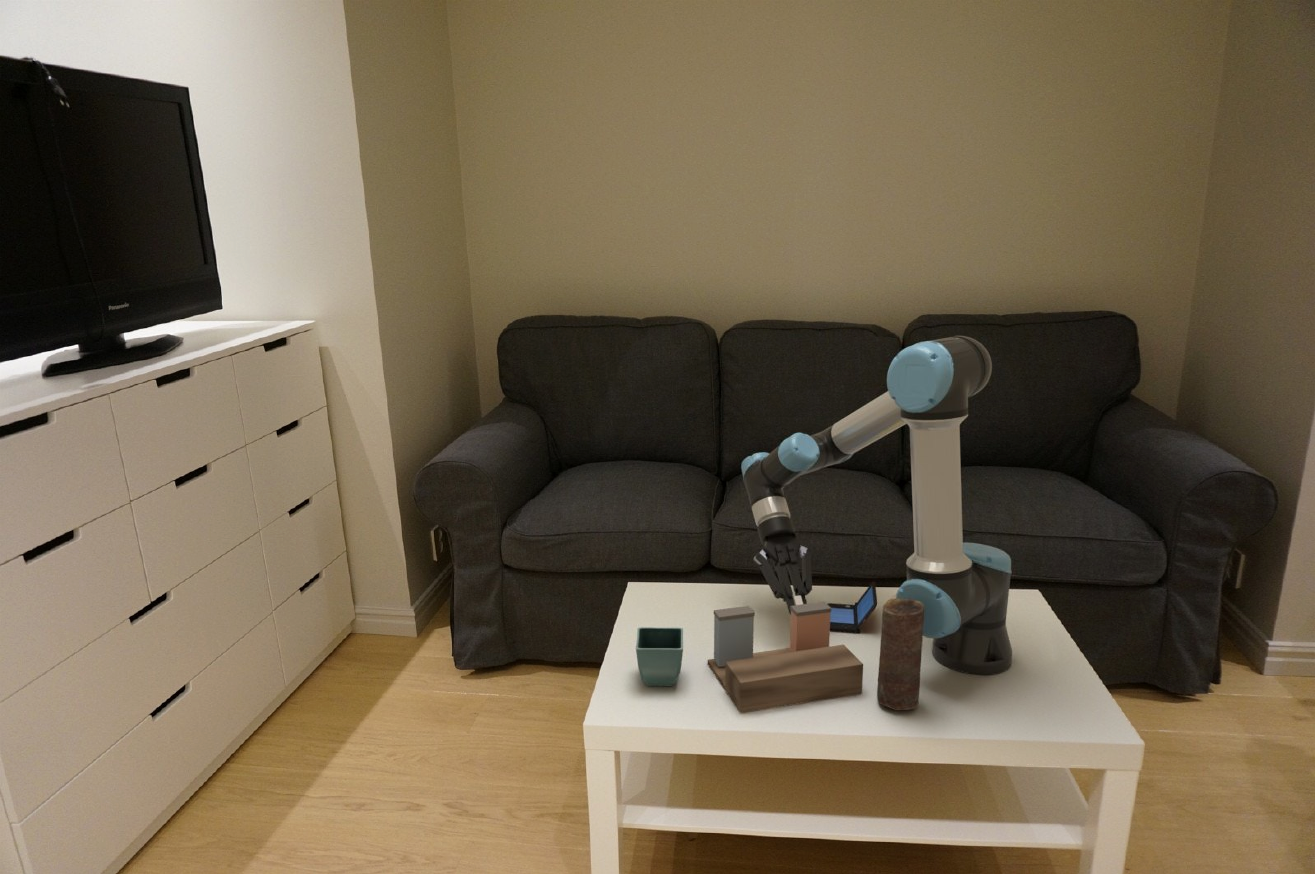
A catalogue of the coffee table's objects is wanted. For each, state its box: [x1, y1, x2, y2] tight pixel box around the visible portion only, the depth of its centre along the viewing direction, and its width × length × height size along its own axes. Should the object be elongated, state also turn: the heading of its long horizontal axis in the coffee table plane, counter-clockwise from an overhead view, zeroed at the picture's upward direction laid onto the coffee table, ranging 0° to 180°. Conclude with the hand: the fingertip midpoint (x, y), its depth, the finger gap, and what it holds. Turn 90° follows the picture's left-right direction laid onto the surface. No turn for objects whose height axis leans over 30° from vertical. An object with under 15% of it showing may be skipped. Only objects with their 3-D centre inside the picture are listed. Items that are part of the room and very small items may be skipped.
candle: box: [876, 597, 925, 711], centre depth 164 cm, size 8×7×20 cm
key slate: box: [713, 605, 755, 667], centre depth 179 cm, size 3×7×11 cm, turn 105°
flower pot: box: [635, 626, 684, 687], centre depth 175 cm, size 9×9×9 cm
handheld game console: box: [826, 581, 878, 635], centre depth 199 cm, size 12×11×7 cm
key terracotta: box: [789, 601, 831, 652], centre depth 180 cm, size 3×7×11 cm, turn 105°
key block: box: [707, 644, 864, 714], centre depth 175 cm, size 18×24×6 cm
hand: (803, 628), depth 183 cm, fingers closed
